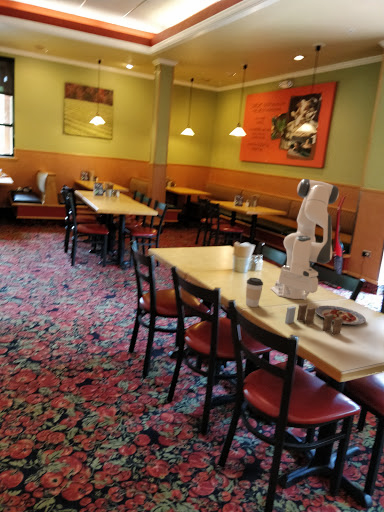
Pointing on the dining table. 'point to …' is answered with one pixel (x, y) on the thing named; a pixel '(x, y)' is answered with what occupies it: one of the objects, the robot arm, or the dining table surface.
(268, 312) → the dining table surface
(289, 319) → the tile
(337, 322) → the tile
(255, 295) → the coffee cup
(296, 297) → the robot arm
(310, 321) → the tile
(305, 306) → the tile
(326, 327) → the tile
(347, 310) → the ceramic plate
